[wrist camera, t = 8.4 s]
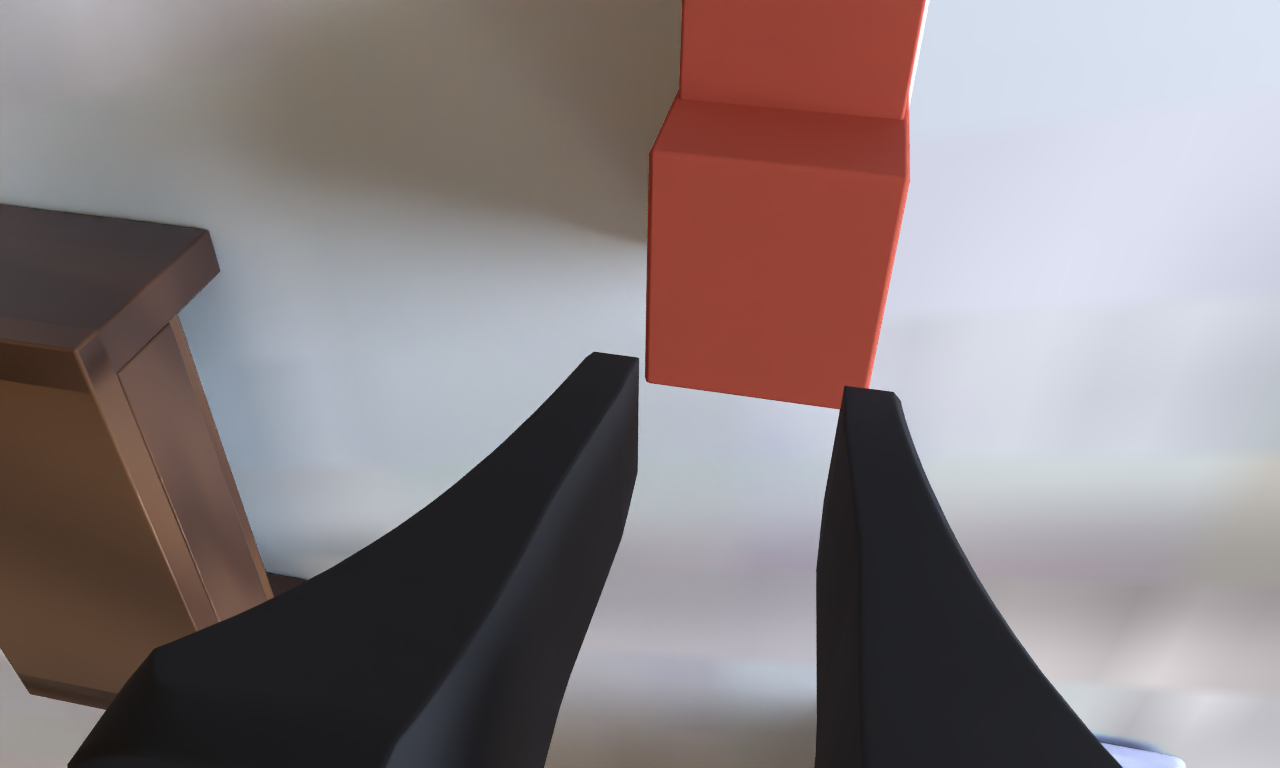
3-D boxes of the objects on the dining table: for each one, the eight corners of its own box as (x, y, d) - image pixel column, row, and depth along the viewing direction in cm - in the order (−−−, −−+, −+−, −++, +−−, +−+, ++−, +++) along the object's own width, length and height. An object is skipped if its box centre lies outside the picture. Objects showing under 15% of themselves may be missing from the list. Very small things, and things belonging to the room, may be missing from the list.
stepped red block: (874, 271, 21) (867, 425, 17) (685, 249, 21) (637, 392, 17) (944, -104, 16) (957, -12, 12) (703, -118, 17) (643, -35, 13)
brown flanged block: (321, 604, 32) (243, 739, 29) (128, 569, 33) (29, 694, 30) (209, 228, 24) (74, 350, 20) (-46, 197, 25) (-221, 307, 21)
